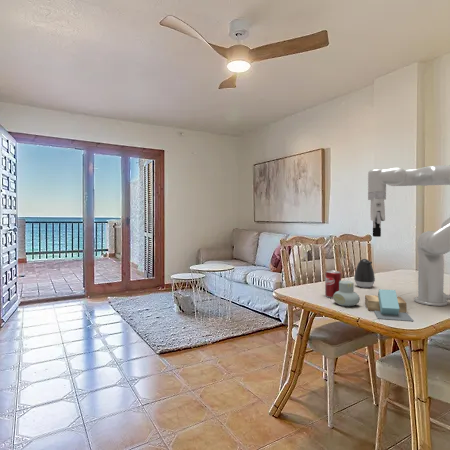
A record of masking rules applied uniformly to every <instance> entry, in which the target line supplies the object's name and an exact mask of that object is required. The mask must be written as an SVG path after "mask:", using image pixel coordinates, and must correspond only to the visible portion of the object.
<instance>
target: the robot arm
mask: <svg viewBox="0 0 450 450" xmlns="http://www.w3.org/2000/svg"><path fill="white" fill-rule="evenodd" d="M448 185H449V186H450V164H447V165H446V164H445V165H443V164H442V165H428V166H425V167H419V168H414V169H413V168H411V169H404V168H403V167H392V168H374V169H370V170H369V171H368V174H367V201H370V220H371V221H372V237H376V238H377V237H378V238H379V237H382V227H381V225H382V222H384V221H386V209H385V208H386V205H385V200H387V186H389V187H407V186H408V187H410V186H422V187H423V186H424V187H425V186H448ZM416 243H417V244H416V245H417V246H416V247H417V256H418V258H417V259H418V264H417V265H418V266H417V267H418V269H417V270H418V272H417V274H418V276H417V277H418V278H417V280H418V281H417V285H418V287H417V288H418V289H417V290H418V291H417V296H414V297H413V298H414V299H413V301H414V302H415V303H418V304H421V305H426V306H433V307H444V306H447V305H448V303H449V302H448V301H449V300H450V294H446V293H445V291H444V289H445V288H444V285H445V283H444V282H445V281H444V276H445V274H444V273H445V272H444V271H445V270H444V269H445V259H444V255H445V254H448V253H450V217H449V218H447V219H445V220H444V221H443V222H442V224H441V227H440V228H439V229H437V230H436V231H434V230H427V231H424V232H422V233H421V234H420V235H419V236H418V238H417V241H416Z"/></svg>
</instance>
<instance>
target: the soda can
mask: <svg viewBox="0 0 450 450" xmlns="http://www.w3.org/2000/svg"><path fill="white" fill-rule="evenodd" d="M324 275H325V276H324V279H325V282H324V284H325V285H324V286H325V287H324V289H325V291H324V293H325V294H324V296H325V297H326V298H329V299H333V295H334V293H335V292H337V291H339V282H340V281H342V272H341V271H338V270H326V271H325V273H324Z"/></svg>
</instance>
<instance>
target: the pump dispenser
mask: <svg viewBox="0 0 450 450" xmlns="http://www.w3.org/2000/svg"><path fill="white" fill-rule="evenodd" d="M372 264H373V261H370V260H369V259H366V258H362V259H360V260H359V261H358V263H357V266H356V269H355V273H354V278H353V279H354V282H355V284H356V286H358V287H360V288H362V289H363V288H364V289H367V288H368V289H369V288H372V287H373V286H374V285H375V282H376V278H375V277H376V276H375V271H374V267H373V265H372Z"/></svg>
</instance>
